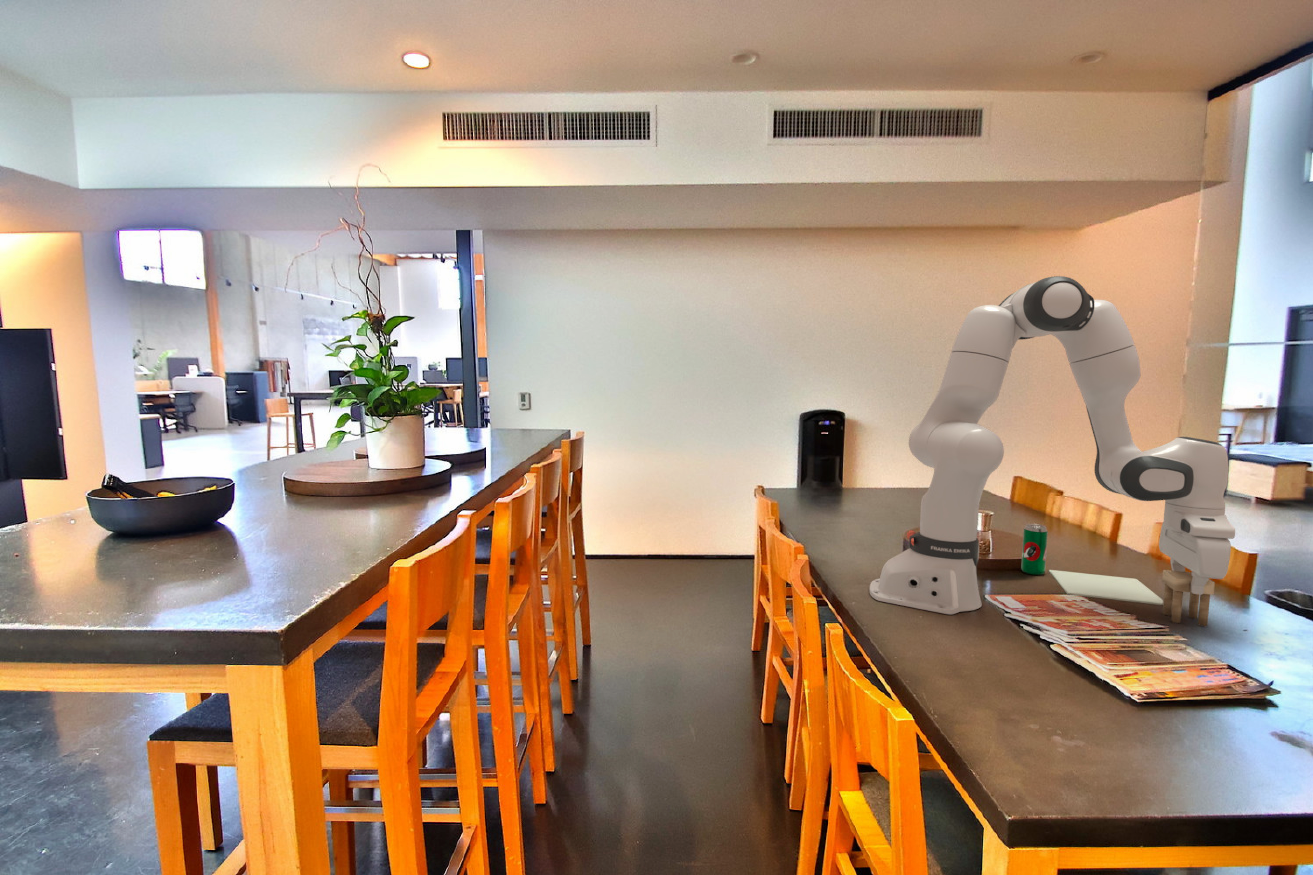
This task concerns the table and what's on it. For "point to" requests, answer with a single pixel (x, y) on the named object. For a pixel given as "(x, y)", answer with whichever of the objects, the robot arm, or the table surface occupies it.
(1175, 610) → the stool
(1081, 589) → the mat
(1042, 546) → the soda can
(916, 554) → the robot arm
